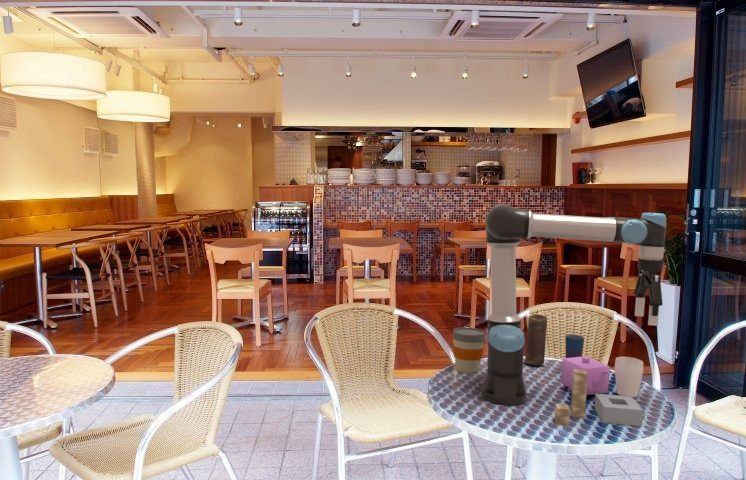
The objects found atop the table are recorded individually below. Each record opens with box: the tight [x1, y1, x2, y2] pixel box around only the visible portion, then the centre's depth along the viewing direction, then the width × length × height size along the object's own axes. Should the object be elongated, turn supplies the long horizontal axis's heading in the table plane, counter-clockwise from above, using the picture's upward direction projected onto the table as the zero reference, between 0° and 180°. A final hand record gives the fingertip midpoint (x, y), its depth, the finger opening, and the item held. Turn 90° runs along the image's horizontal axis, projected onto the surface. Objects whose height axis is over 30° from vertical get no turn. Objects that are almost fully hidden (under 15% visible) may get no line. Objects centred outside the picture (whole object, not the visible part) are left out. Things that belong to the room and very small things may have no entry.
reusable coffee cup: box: [451, 326, 486, 374], centre depth 210 cm, size 13×13×15 cm
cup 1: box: [564, 333, 585, 358], centre depth 207 cm, size 7×7×15 cm
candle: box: [524, 314, 548, 367], centre depth 217 cm, size 8×7×20 cm
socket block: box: [594, 393, 644, 427], centre depth 168 cm, size 11×11×5 cm
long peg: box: [570, 369, 587, 419], centre depth 168 cm, size 4×4×14 cm
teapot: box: [560, 355, 611, 398], centre depth 187 cm, size 20×10×12 cm, turn 19°
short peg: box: [554, 403, 571, 426], centre depth 163 cm, size 4×4×5 cm
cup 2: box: [614, 356, 644, 398], centre depth 187 cm, size 9×9×12 cm
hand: (645, 320), depth 184 cm, fingers open, 13 cm apart
